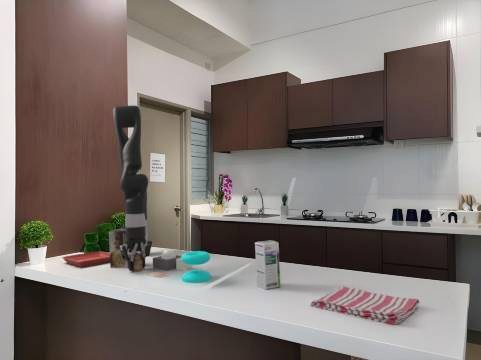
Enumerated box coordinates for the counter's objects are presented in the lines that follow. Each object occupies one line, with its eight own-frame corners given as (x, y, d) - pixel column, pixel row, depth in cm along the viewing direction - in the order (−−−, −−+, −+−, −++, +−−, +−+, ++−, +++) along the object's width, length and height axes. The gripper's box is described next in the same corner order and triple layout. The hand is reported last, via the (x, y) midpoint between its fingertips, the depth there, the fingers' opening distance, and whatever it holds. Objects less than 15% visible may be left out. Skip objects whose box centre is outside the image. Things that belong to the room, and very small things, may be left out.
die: (176, 269, 143) (176, 258, 143) (182, 267, 146) (181, 256, 146) (185, 270, 141) (184, 259, 141) (190, 268, 145) (190, 257, 145)
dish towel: (398, 329, 84) (397, 313, 84) (309, 308, 99) (308, 295, 99) (421, 308, 96) (420, 295, 96) (339, 293, 112) (338, 281, 112)
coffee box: (137, 266, 155) (136, 228, 155) (131, 270, 148) (130, 230, 149) (116, 266, 156) (115, 228, 156) (109, 270, 149) (108, 230, 149)
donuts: (209, 249, 134) (211, 254, 124) (209, 277, 133) (212, 284, 124) (181, 251, 132) (181, 256, 122) (182, 279, 132) (182, 287, 122)
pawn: (128, 270, 143) (128, 253, 143) (138, 268, 146) (137, 251, 146) (135, 272, 140) (134, 254, 140) (145, 270, 143) (144, 252, 143)
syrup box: (265, 289, 116) (264, 243, 116) (256, 285, 121) (254, 241, 121) (280, 287, 118) (279, 241, 118) (270, 282, 124) (269, 239, 124)
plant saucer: (100, 257, 180) (100, 250, 180) (118, 262, 167) (118, 254, 167) (61, 264, 167) (61, 256, 167) (78, 269, 154) (78, 261, 154)
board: (121, 275, 141) (120, 261, 141) (166, 264, 158) (166, 252, 158) (154, 282, 128) (153, 268, 128) (199, 269, 145) (199, 257, 145)
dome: (158, 264, 147) (158, 249, 147) (169, 261, 152) (169, 247, 152) (168, 266, 144) (167, 250, 144) (178, 263, 148) (178, 248, 148)
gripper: (144, 223, 151) (146, 264, 151) (113, 226, 140) (114, 272, 140) (156, 223, 146) (157, 267, 146) (125, 227, 135) (126, 274, 135)
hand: (136, 269), depth 143 cm, fingers closed on pawn, 4 cm apart
